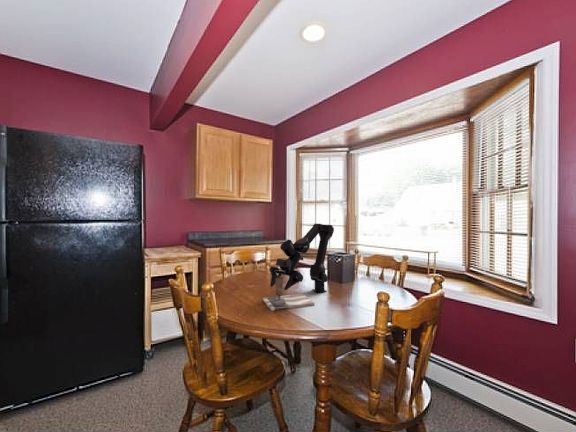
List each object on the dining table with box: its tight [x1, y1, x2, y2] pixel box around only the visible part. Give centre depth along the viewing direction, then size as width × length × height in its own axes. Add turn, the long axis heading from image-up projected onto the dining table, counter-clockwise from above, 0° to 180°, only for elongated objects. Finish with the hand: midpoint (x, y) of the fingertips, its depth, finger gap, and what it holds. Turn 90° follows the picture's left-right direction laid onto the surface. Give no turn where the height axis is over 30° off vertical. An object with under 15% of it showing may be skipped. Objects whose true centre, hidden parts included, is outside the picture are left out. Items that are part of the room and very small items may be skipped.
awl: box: [273, 276, 285, 306], centre depth 136 cm, size 6×6×12 cm
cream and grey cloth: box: [262, 293, 315, 312], centre depth 142 cm, size 16×22×1 cm
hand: (277, 288), depth 136 cm, fingers open, 9 cm apart
